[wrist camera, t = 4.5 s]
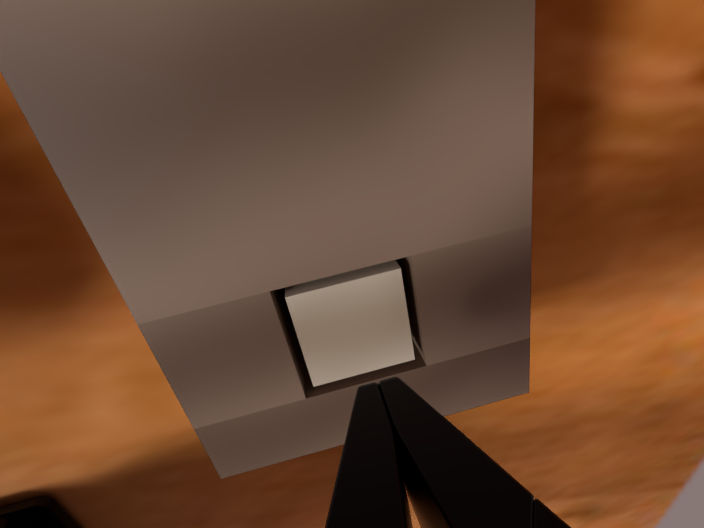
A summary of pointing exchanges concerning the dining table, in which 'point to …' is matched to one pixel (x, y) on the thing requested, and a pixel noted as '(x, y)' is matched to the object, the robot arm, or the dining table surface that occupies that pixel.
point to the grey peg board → (293, 188)
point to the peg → (352, 322)
